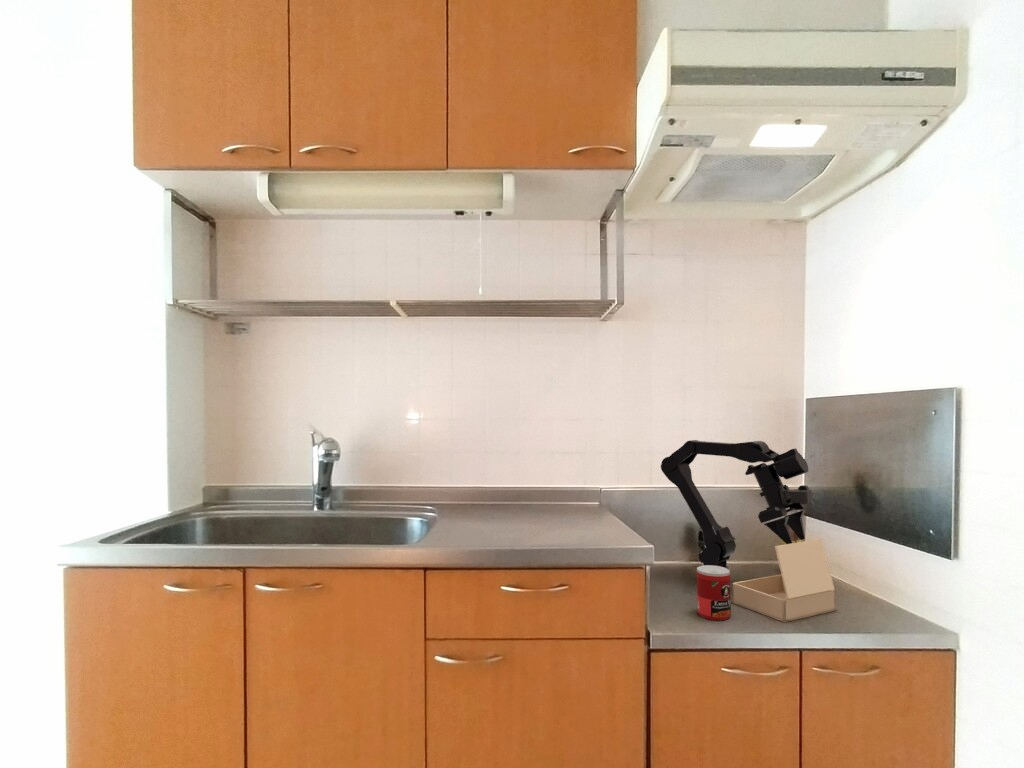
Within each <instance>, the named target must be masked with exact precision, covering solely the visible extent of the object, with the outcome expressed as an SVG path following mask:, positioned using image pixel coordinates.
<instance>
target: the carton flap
mask: <svg viewBox="0 0 1024 768" xmlns="http://www.w3.org/2000/svg"><path fill="white" fill-rule="evenodd" d="M774 548H775V554H776V558H777V562H778V567H779V570H780V574H781V576H782V580H783V584H784V588H785V593H786V597H787V599H790V598H795V597H800V596H804V595H809V594H814V593H819V592H824V591H828V590H833V589H834V590H835V586H834V582H833V577H832V574H831V571H830V566H829V563H828V560H827V554H826V551H825V547H824V544H823V540H822V538H819V539H814V540H806V541H803V542H798V543H792V544H785V545H781V544H780V545H775V546H774Z"/></svg>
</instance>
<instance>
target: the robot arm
mask: <svg viewBox="0 0 1024 768" xmlns="http://www.w3.org/2000/svg"><path fill="white" fill-rule="evenodd" d="M697 455H706V456H718V457H730V458H734V459H737V460H739V461H743V462H747V463H749V465H747V469H746V471H745V473H744V474H745V475H746V476H749V475H754V477H755V479H756V482H757V485H758V487H759V488H760V491H761V492H759V496H760V497H761V498H762V497H763V498H764V500H765V502H766V504H767V506H768V507H765V508H766V509H763V510H760V511H759V512H758V516H757V518H758V519H759V522H760V524H763V525H764V526H765V527H767V528H768V529H769V530H771V532H773V533H774V535H777V537H778V538H779V539H780V538H781V539H782V540H783V541H784V542H785V543H786V544H792V539H791V536H790V533H789V530H788V527H787V524H788V525H789V527H790V528H791V529H792V530H793V532H794V533H795V534H796V535H797V536H798V537H799V538H800V540H803V541H804V540H805V539H806V536H805V530H804V523H803V517H804V514H805V513H806V511H807V509H806V508H808V506H807V505H808V504H809V503H813V496H814V492H812V489H810V488H809V486H808V485H806V484H805V485H799V487H798V488H796V489H790V488H789V486H788V485H787V484H783V482H782V480H781V478H783V479H784V480H789V479H792V478H795V477H797V476H801V475H804V474H806V473H808V472H809V465H808V463H807V460H806V458H804V457H803V455H802V454H801V453H800V452H799V451H798V449H797V448H791V449H789V450H788V451H785V452H784V453H780V454H779V453H778V452H776V451H774V450H773V449H771V448H770V447H769V446H768V444H767V443H766V442H765V441H762V440H756V441H755V440H754V441H745V442H736V443H733V442H731V443H730V442H721V441H720V442H719V441H717V442H716V441H705V440H704V441H703V440H702V441H701V440H698V439H692V440H691V439H690V440H687V441H685V442H684V443H683V445H682V446H680V447H679V448H678V449H677V450H675V451H674V452H673V453H671V454H670V455H669V456H666V457H664V458H663V459H662V461H661V463H660V469H661V472H662V473H663V474H664V476H665V478H667V480H668V481H670V483H672V484H673V485H675V487H677V488H678V491H679V492H680V494H681V495H682V497H683V499H684V501H685V503H686V504H687V506H688V508H689V510H690V511H691V513H692V515H693V517H694V519H695V521H696V522H697V524H698V525H699V527H700V529H701V531H702V539H703V540H702V541H703V544H704V546H705V549H703V551H702V552H700V553H699V554H698V559H699V561H700V563H701V564H702V566H704V565H713V566H720V567H724V568H727V569H729V570H730V567H729V565H727V564H728V562H727V561H729V560H730V557H731V555H733V554H734V553H735V550H736V547H737V546H736V545H737V544H736V537H734V535H732V533H731V531H730V528H729V527H728V526H724V527H722V526H721V525H720V524H718V522H717V520H716V519H715V517H714V516H713V514H712V512H711V510H710V508H709V507H708V505H707V503H706V501H705V500H704V498H703V497H702V495H701V493H700V491H699V489H698V488H697V486H696V485H695V483H694V481H693V476H692V470H691V467H690V465H691V464H692V463H693V461H694V460H695V458H696V457H697ZM768 462H773V463H769V464H767V463H768ZM750 463H751V464H750ZM754 463H760V464H757V465H753V464H754Z"/></svg>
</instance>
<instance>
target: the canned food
mask: <svg viewBox="0 0 1024 768" xmlns="http://www.w3.org/2000/svg"><path fill="white" fill-rule="evenodd" d="M730 571H731V570H730V568H729V569H727V568H724V567H720V566H713V565H700V566H697V567H696V601H697V603H696V604H697V605H696V606H697V613H698V615H699V616H700V617H702V618H704V619H707V620H711V621H726V620H729V619H730V618H731V615H732V585H731V572H730Z"/></svg>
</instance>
